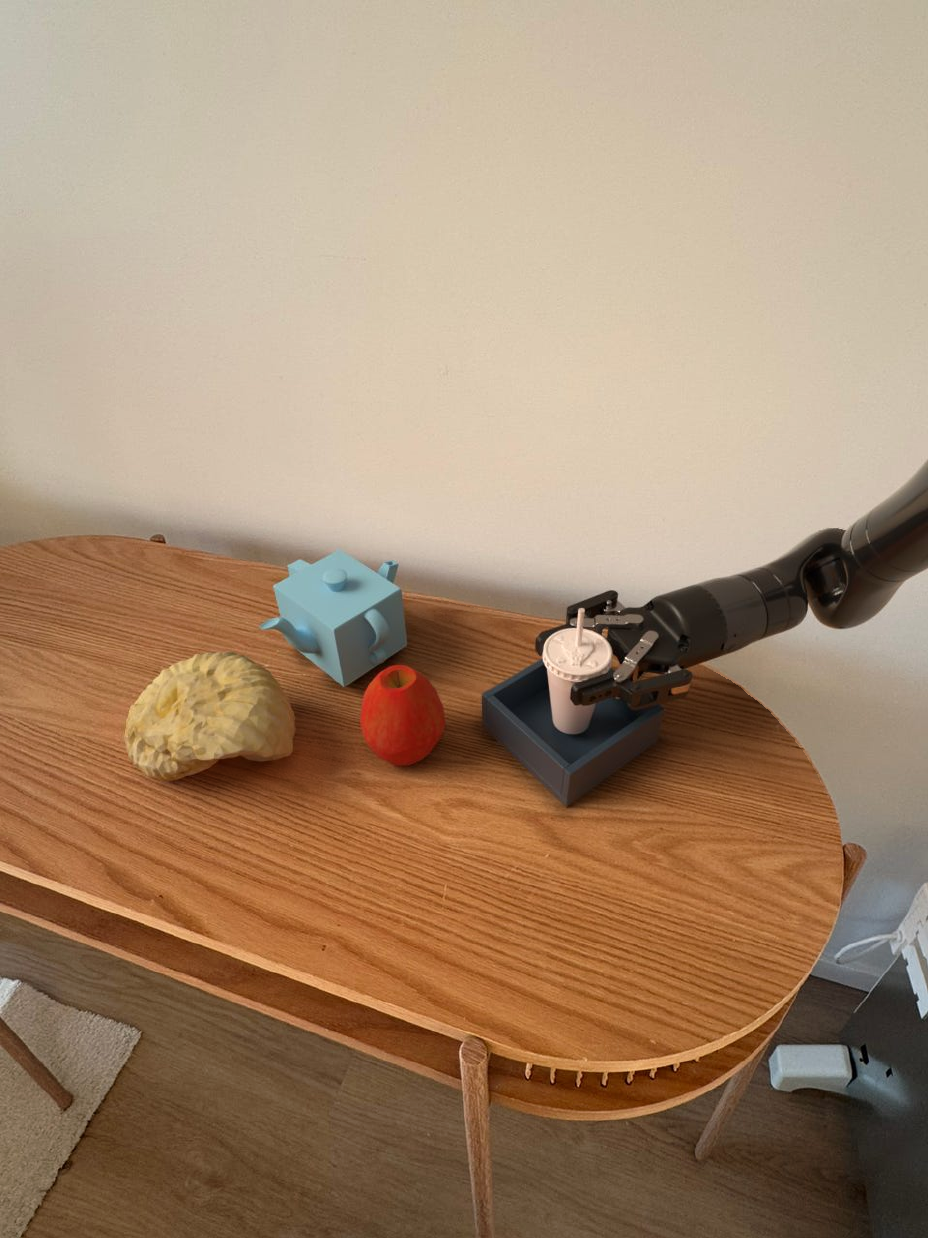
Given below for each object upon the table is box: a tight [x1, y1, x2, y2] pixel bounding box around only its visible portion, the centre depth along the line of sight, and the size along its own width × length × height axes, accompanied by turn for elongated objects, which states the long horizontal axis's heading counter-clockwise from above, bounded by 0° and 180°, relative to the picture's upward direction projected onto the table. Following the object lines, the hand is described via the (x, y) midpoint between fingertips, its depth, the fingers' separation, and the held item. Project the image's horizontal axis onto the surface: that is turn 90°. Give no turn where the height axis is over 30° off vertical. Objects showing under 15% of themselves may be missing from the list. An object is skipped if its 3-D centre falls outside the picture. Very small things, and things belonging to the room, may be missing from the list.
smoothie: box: [542, 608, 613, 734], centre depth 69 cm, size 6×6×14 cm
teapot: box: [259, 549, 408, 688], centre depth 81 cm, size 16×18×11 cm
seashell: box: [123, 651, 296, 782], centre depth 71 cm, size 17×11×15 cm
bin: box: [481, 657, 666, 808], centre depth 73 cm, size 13×13×5 cm
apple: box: [359, 664, 446, 767], centre depth 70 cm, size 8×8×11 cm
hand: (554, 670), depth 67 cm, fingers closed on smoothie, 6 cm apart
